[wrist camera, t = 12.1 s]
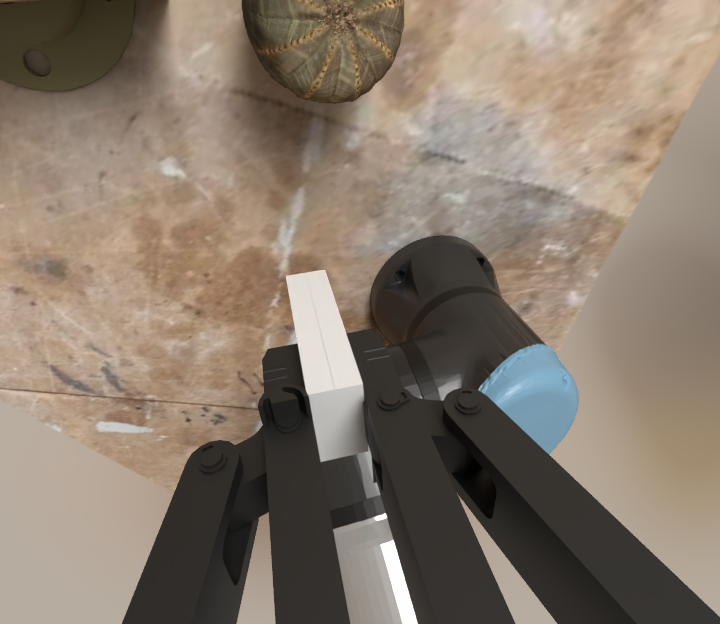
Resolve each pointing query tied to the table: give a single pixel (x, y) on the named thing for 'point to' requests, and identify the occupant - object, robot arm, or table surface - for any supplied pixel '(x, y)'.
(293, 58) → the green ball cactus
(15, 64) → the flange
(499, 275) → the table surface
